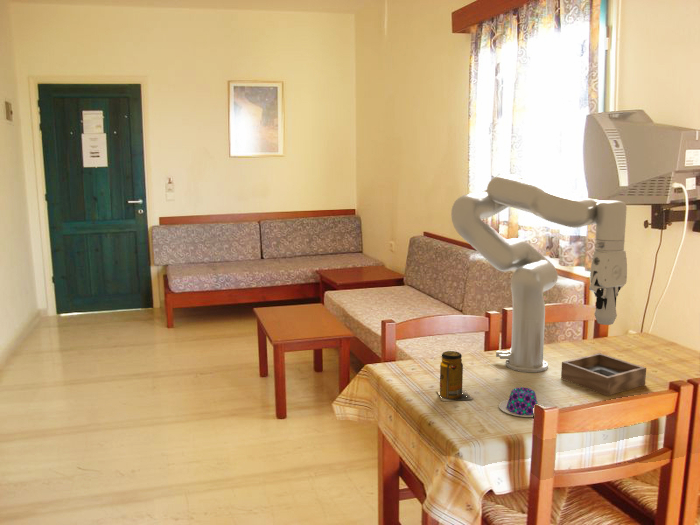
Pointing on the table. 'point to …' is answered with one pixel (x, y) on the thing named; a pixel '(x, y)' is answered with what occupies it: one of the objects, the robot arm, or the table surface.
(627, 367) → the bore box
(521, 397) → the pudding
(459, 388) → the condiment
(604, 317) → the salt shaker
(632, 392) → the table surface
